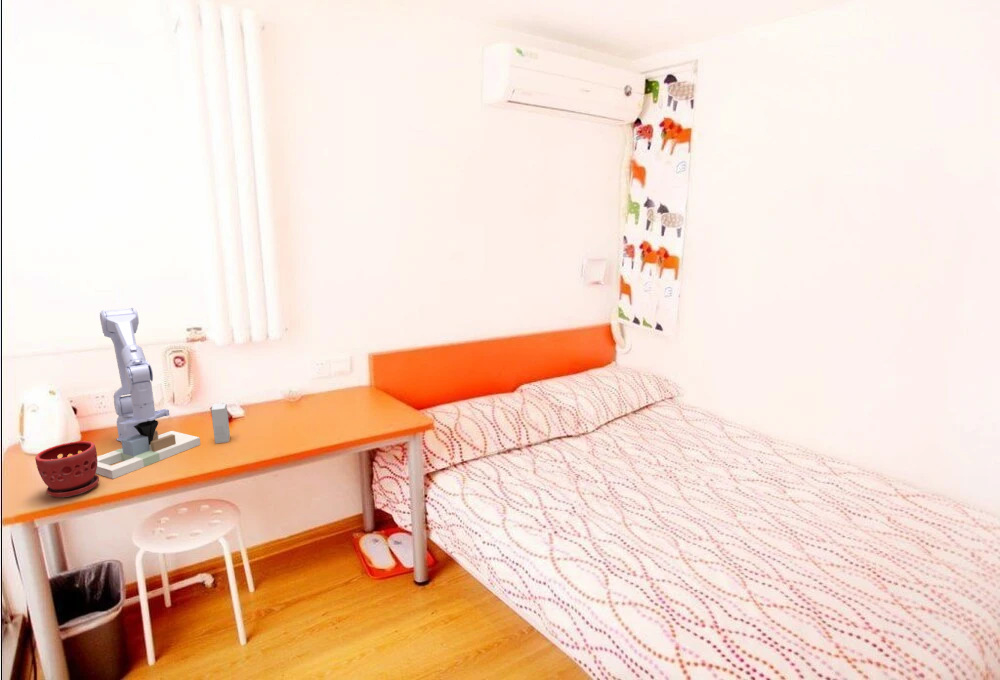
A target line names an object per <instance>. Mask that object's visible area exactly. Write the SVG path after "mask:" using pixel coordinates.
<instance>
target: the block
mask: <svg viewBox="0 0 1000 680" xmlns="http://www.w3.org/2000/svg"><path fill="white" fill-rule="evenodd" d="M120 442H121V448H122V449H123V454H127V455H130V456H136V455H139V454H141V453H144V452H147V451H150V450H149V442H148V437H147V436H143V435H139V434H137V435H134V436H131V437H128V438H125V439H122V440H121V441H120Z"/></svg>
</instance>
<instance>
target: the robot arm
mask: <svg viewBox="0 0 1000 680" xmlns="http://www.w3.org/2000/svg"><path fill="white" fill-rule="evenodd" d="M99 320H100V325H101V329H102V334H103V335H104V337H106V338H110V339H111V342H112V344H113V347H114V352H115V357H116V358H115V359H116V363H117V369H118V373H119V379H120V384H121V386H120V387H119V388H118V389H117V390H116V391H115V392H114V394H113V403H114V410H115V413H116V415H117V416H118V417H117V418H116V426H117V435H118V437H117V438H116V441H119V442H121V440H122V439H125V438H128V437H131V436H134V435H137V434H139V435H143V436H147V437H148V442H149V445H150V444H151V443H150V442H151V441H153V436H154V432H155V430H156V431H157V427H158V426H159V421H158V420H157V419H161V418H163V417H169V416H170V410H169V409H167V408H163V409H160V410H156V409H155V408H156V407H155V401H154V395H153V386H152V382H153V380H154V375H153V374H154V373H153V369H152V366H151V364H150V363H149V361H148V360H147V359H146V356H145V354H144V350H143V348H142V347H141V346H140V345H137V342H136V337H135V334H136V333H137V330H138V327H139V323H140V322H139V315H138V312H137V309H136V308H134V307H131V308H122V309H111V310H100V312H99Z"/></svg>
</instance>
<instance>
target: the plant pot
mask: <svg viewBox="0 0 1000 680" xmlns="http://www.w3.org/2000/svg"><path fill="white" fill-rule="evenodd" d="M59 455H62V456H61V457H60V458H59V457H58V456H59ZM97 457H98V453H97V448H96V444H95V442H92V441H89V440H88V441H87V440H81V441H80V440H79V441H71V442H70V441H69V442H67V443H61V444H57V445H54V446H52V447H48V448H46V449H44V450H42V451H40V452H39V453H37V455H35V458H34V459H35V464H36V468H37V471H38V473H39V475H40V477H41V480H42V481H43V483H44V484H45V485H46V486H47V488H46V493H47V494H48V495H49V496H51V497H54V498H64V497H66V498H68V497H73V496H77V495H81V494H83V493H87V492H88V491H91V489H94V488H95V487H96V486H97V485H98V483H99V481H100V475H98V474H96V470H97Z"/></svg>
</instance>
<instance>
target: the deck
mask: <svg viewBox="0 0 1000 680" xmlns="http://www.w3.org/2000/svg"><path fill="white" fill-rule="evenodd" d="M150 443H151V444H150V445H149V450H150V451H147V452H144V453H141V454H139V455H136V456H130V455H127V454H123V449H122V447H121V448H118V449H115V450H112V451H110V452H106V453H105V454H100V455H97V470H96V473H95V475H98V476H103V477H105V478H109V479H111V480H114V479H116V478H119V477H121V476H124V475H127V474H129V473H133V472H134V471H137V470H139V469H141V468H144V467H147V466H149V465H153V464H154V463H157V462H160V461H162V460H165V459H167V458H170V457H172V456H175V455H177V454H180V453H182V452H185V451H188V450H190V449H192V448H196V447H198V446H200V445H201V444H202V443H201V439H200V437H199V436H196V435H195V436H194V435H191V434H187V433H184V432H183V433H182V432H180V431H175V430H170V431H167V432H163V433H162V434H158V430H157V429H156V430H155V432H154V436H153V441H151V442H150Z"/></svg>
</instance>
